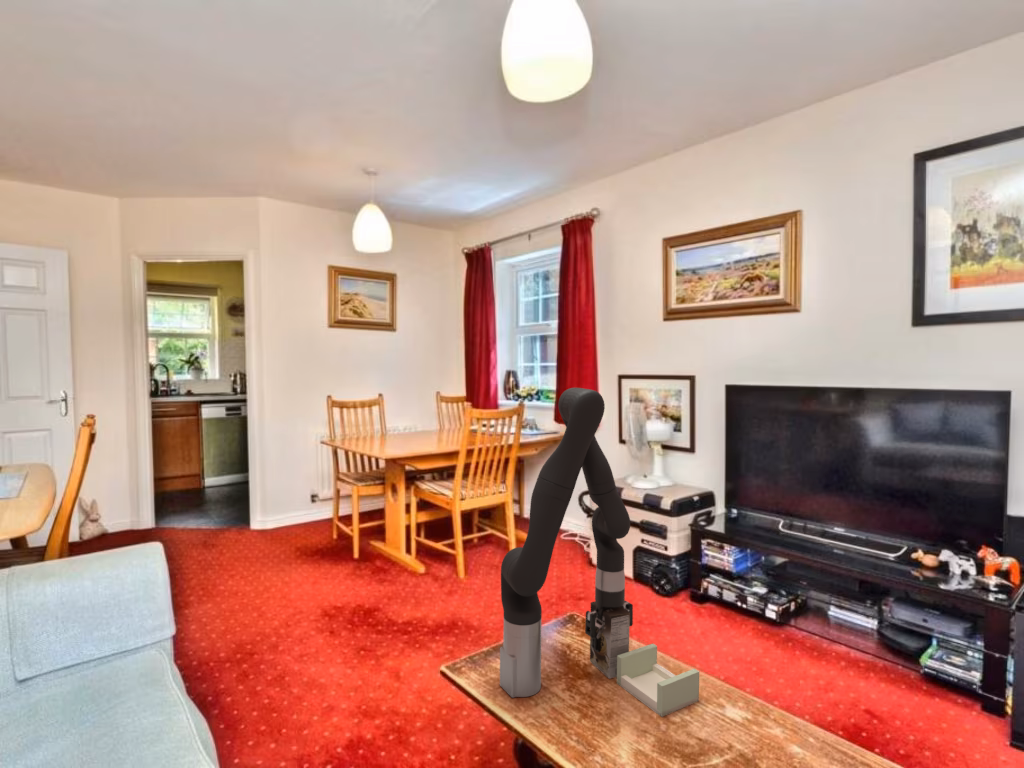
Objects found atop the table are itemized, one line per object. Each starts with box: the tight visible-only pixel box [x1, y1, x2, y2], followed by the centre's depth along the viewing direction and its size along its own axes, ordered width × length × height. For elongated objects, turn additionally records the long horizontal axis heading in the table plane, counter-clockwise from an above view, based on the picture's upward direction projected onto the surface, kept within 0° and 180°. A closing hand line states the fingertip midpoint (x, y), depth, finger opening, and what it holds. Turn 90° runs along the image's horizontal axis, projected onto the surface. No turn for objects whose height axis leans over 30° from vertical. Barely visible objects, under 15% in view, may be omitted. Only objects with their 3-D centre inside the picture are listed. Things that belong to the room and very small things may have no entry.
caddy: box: [616, 643, 700, 718], centre depth 133 cm, size 12×15×7 cm
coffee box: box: [589, 600, 631, 679], centre depth 143 cm, size 9×6×16 cm
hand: (609, 646), depth 143 cm, fingers open, 7 cm apart
